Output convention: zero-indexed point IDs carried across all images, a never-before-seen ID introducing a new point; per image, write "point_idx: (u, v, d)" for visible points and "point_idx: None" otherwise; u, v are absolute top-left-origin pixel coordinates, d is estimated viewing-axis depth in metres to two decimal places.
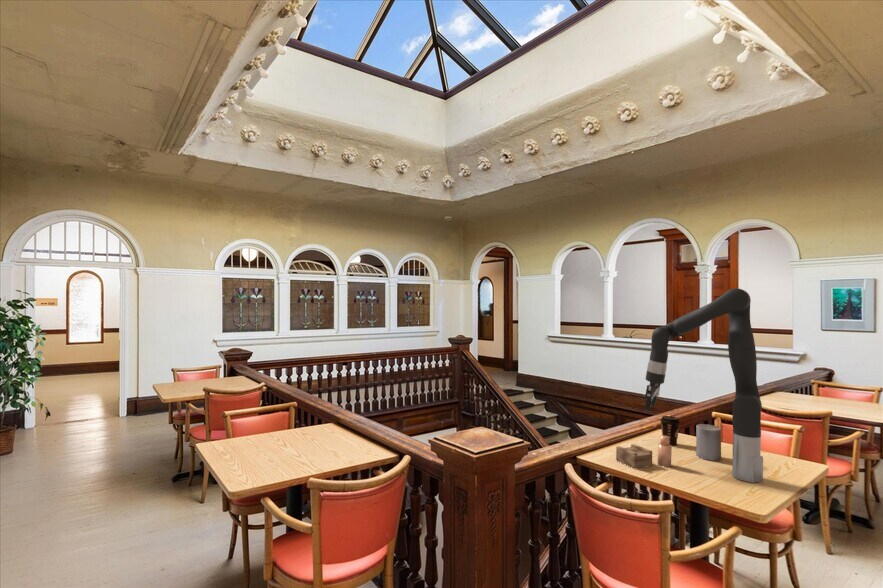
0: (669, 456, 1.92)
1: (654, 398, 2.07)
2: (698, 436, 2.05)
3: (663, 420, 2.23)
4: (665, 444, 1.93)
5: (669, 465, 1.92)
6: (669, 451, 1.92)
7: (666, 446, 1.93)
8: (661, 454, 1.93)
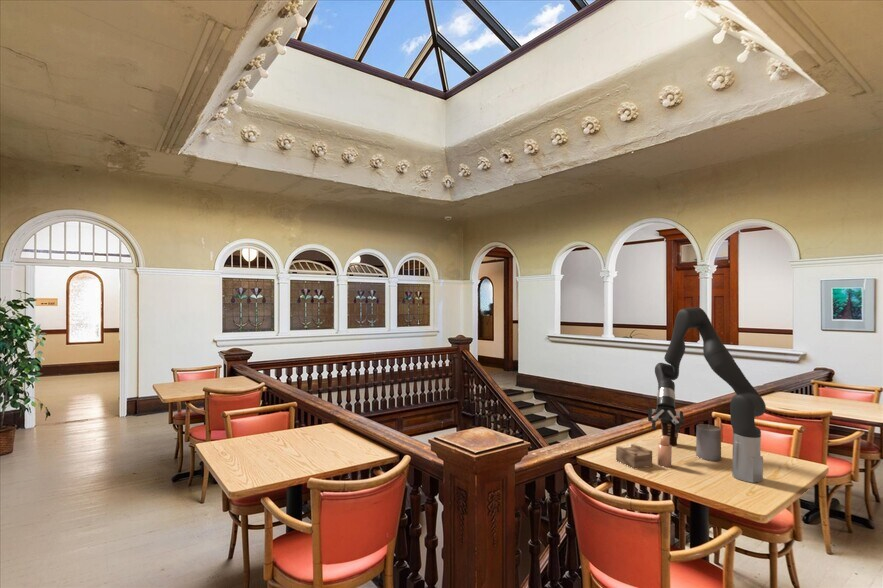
0: (669, 456, 1.92)
1: (675, 425, 2.01)
2: (698, 436, 2.05)
3: (663, 420, 2.23)
4: (665, 444, 1.93)
5: (669, 465, 1.92)
6: (669, 451, 1.92)
7: (666, 446, 1.93)
8: (661, 454, 1.93)
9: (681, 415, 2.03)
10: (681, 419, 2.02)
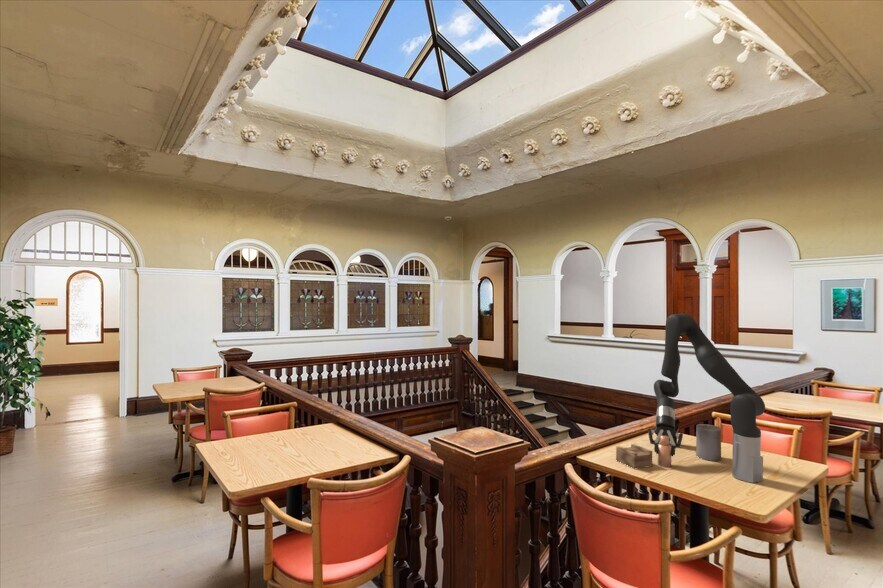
0: (669, 456, 1.92)
1: None
2: (698, 436, 2.05)
3: None
4: (665, 444, 1.93)
5: (669, 465, 1.92)
6: (669, 451, 1.92)
7: (666, 446, 1.93)
8: (661, 454, 1.93)
9: (680, 437, 1.95)
10: (678, 441, 1.94)
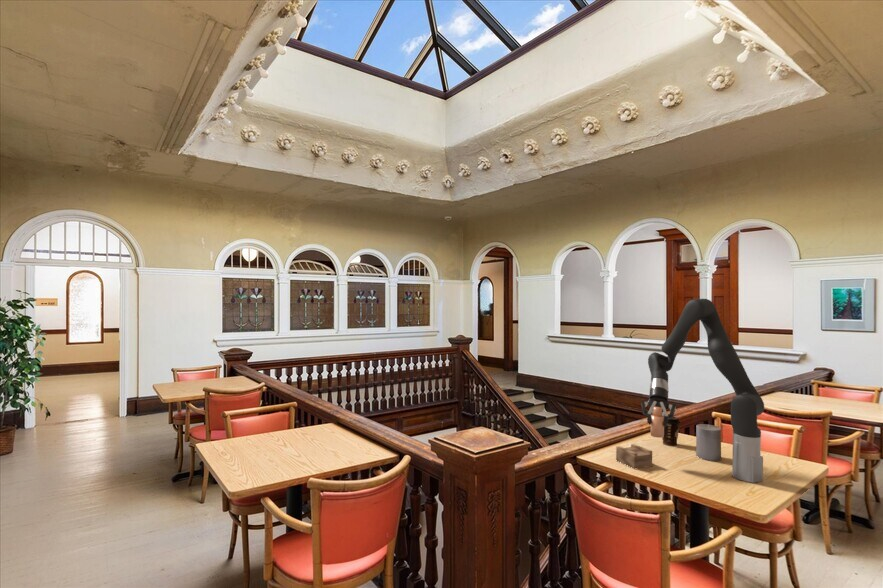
0: (662, 426, 1.93)
1: (664, 418, 1.94)
2: (698, 436, 2.05)
3: None
4: (658, 415, 1.94)
5: (662, 435, 1.93)
6: (662, 421, 1.93)
7: (659, 417, 1.93)
8: (654, 424, 1.94)
9: (673, 408, 1.96)
10: (671, 412, 1.95)
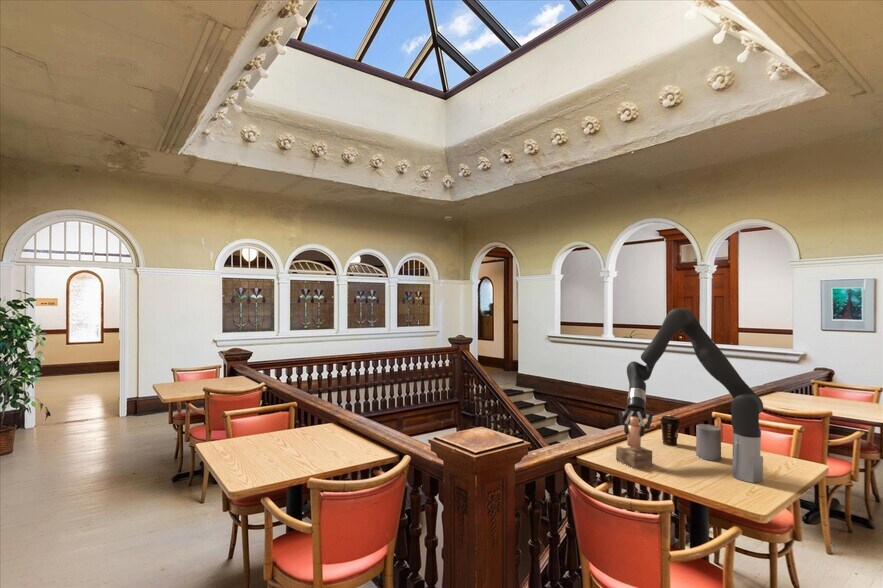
0: (638, 436, 1.94)
1: None
2: (698, 436, 2.05)
3: (663, 420, 2.23)
4: (634, 425, 1.94)
5: (638, 445, 1.94)
6: (638, 431, 1.93)
7: (635, 427, 1.94)
8: (630, 434, 1.94)
9: (649, 418, 1.96)
10: (648, 422, 1.95)
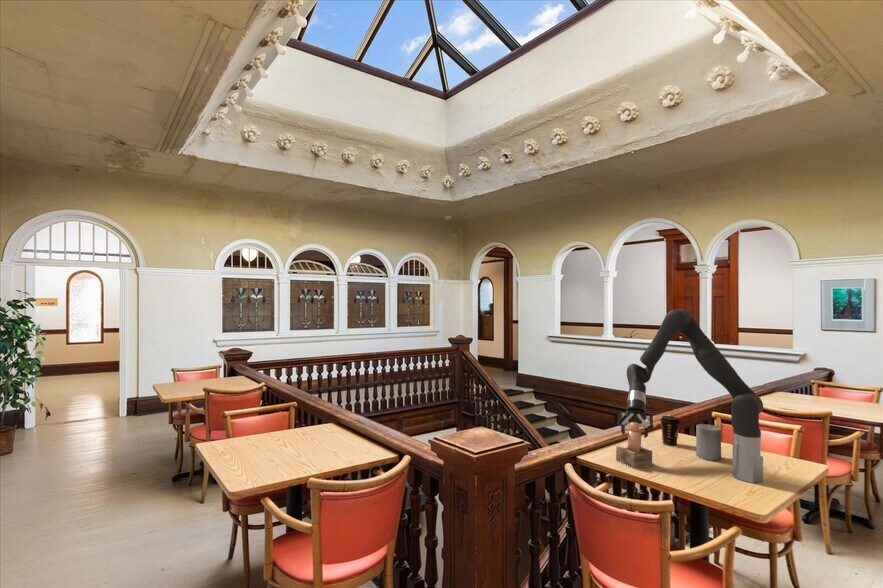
0: (638, 442, 1.94)
1: None
2: (698, 436, 2.05)
3: (663, 420, 2.23)
4: (635, 430, 1.94)
5: (638, 451, 1.94)
6: (638, 437, 1.94)
7: (636, 432, 1.94)
8: (631, 440, 1.94)
9: (651, 419, 1.96)
10: (650, 423, 1.95)
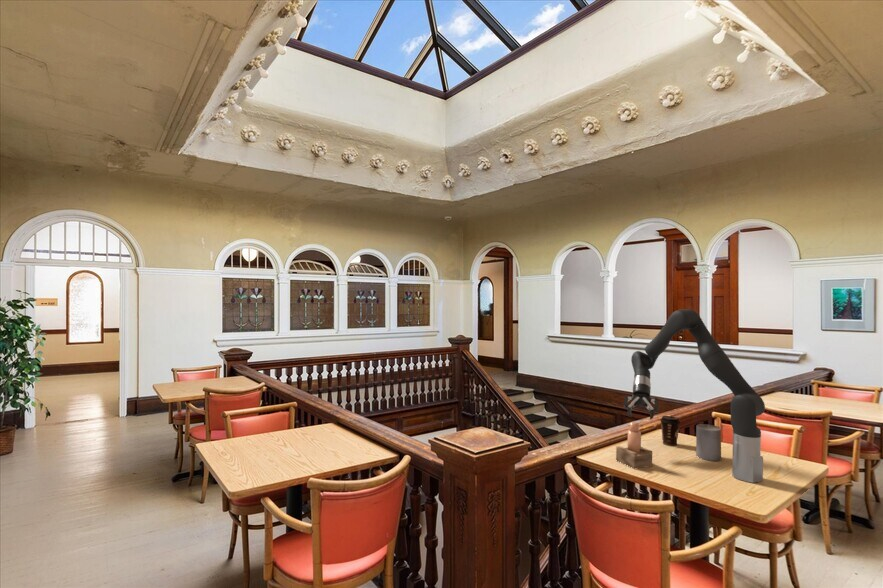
0: (638, 442, 1.94)
1: (650, 411, 2.05)
2: (698, 436, 2.05)
3: (663, 420, 2.23)
4: (634, 430, 1.94)
5: (638, 451, 1.93)
6: (638, 437, 1.93)
7: (635, 432, 1.94)
8: (630, 440, 1.94)
9: (656, 401, 2.07)
10: (656, 405, 2.06)
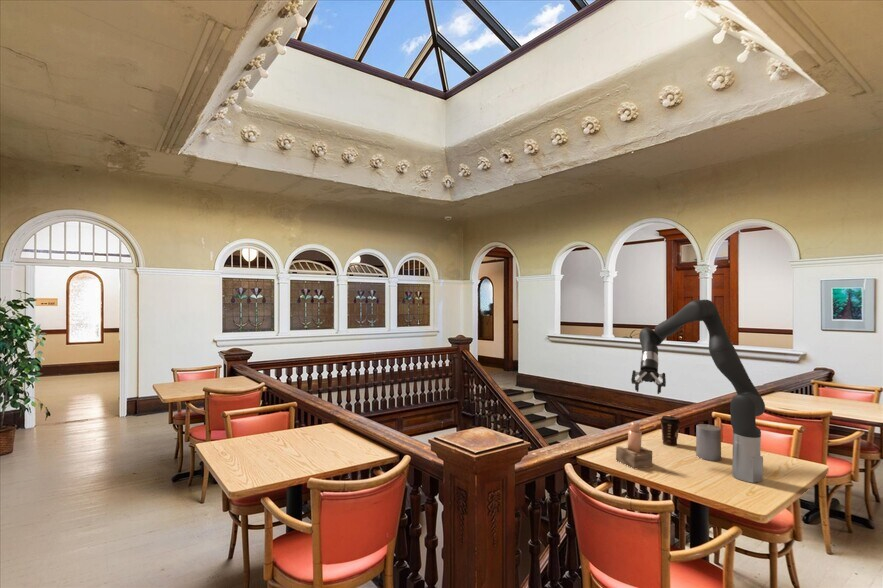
0: (639, 442, 1.93)
1: None
2: (698, 436, 2.05)
3: (663, 420, 2.23)
4: (635, 430, 1.94)
5: (638, 451, 1.93)
6: (639, 437, 1.93)
7: (636, 432, 1.94)
8: (631, 440, 1.94)
9: (663, 376, 2.07)
10: (663, 380, 2.06)
